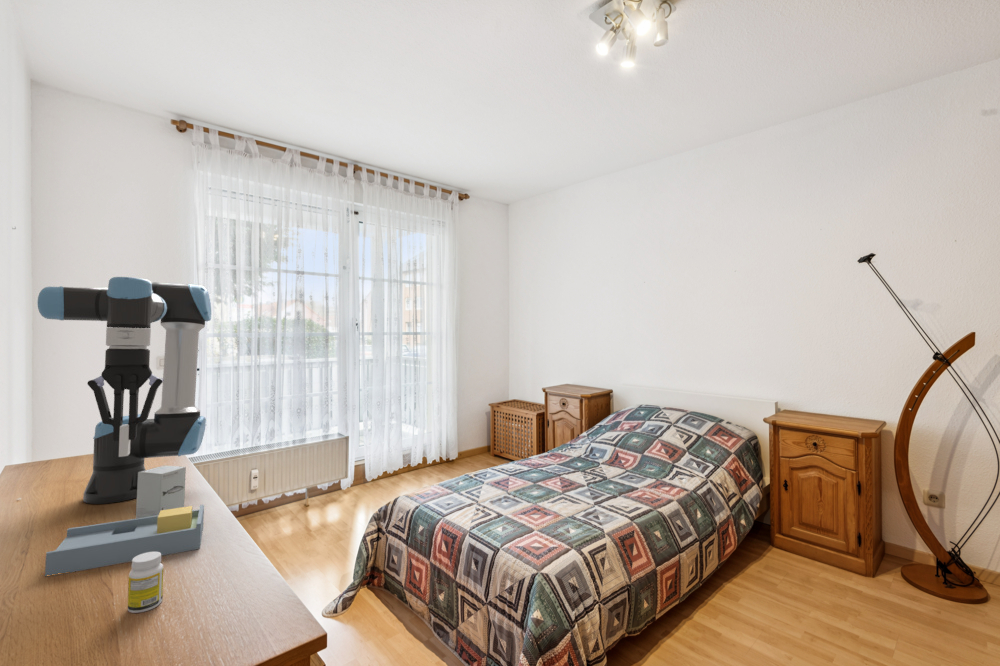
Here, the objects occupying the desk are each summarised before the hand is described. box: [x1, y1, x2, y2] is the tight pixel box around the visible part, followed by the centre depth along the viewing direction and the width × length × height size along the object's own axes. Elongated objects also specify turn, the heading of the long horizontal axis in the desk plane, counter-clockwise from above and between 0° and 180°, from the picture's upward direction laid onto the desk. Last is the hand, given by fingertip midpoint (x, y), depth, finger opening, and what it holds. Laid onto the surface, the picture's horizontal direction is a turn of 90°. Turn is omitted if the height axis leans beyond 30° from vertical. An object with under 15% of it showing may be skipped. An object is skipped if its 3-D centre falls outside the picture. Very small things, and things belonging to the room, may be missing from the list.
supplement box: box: [135, 465, 187, 519], centre depth 116 cm, size 7×7×13 cm
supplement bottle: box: [127, 552, 164, 614], centre depth 77 cm, size 5×5×8 cm
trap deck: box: [44, 504, 205, 577], centre depth 98 cm, size 14×25×6 cm, turn 121°
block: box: [157, 505, 193, 534], centre depth 101 cm, size 5×6×4 cm
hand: (124, 454), depth 98 cm, fingers closed
